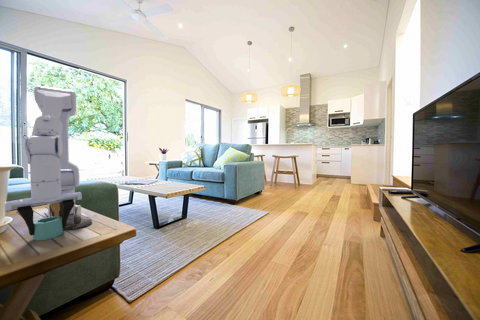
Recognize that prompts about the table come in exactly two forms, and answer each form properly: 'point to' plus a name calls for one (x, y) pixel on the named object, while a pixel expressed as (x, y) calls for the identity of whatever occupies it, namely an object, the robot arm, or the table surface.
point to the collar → (47, 227)
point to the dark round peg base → (77, 220)
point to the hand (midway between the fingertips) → (48, 230)
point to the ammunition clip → (54, 209)
